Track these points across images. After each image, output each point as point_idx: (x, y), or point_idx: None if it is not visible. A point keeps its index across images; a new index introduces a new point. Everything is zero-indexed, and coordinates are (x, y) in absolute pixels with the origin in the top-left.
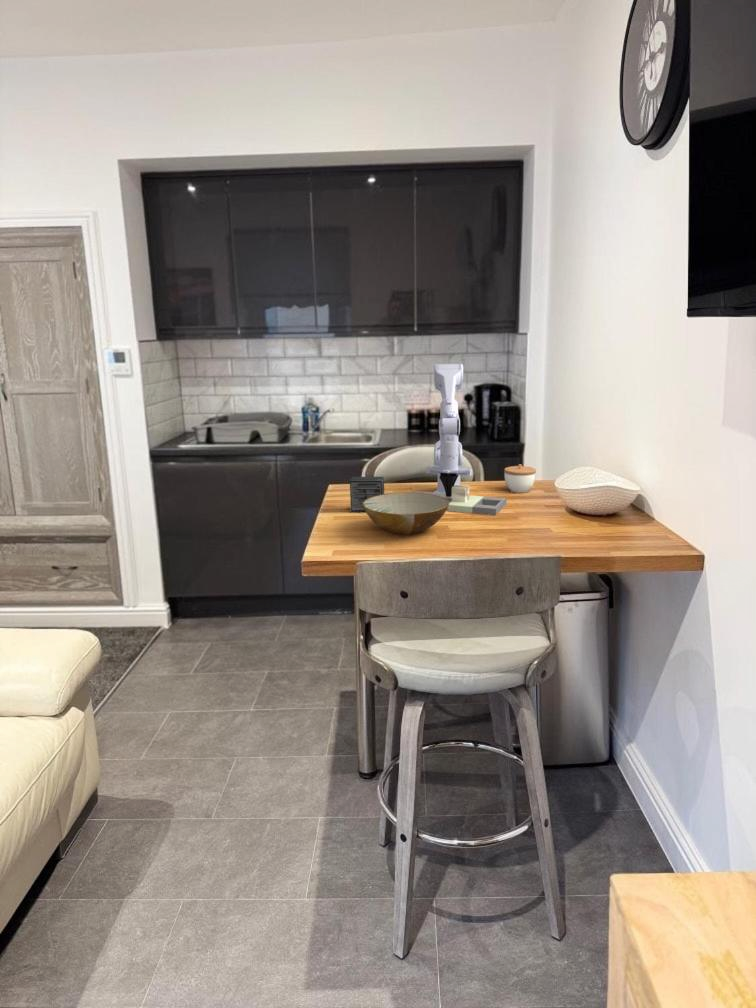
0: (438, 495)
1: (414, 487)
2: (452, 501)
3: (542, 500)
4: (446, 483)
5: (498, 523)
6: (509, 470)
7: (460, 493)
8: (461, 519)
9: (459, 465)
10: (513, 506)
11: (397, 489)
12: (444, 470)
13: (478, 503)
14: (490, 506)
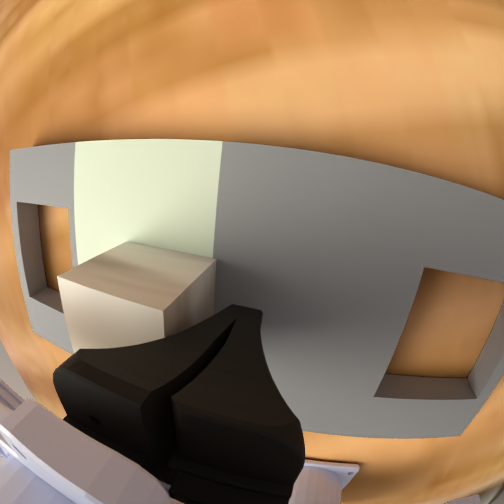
0: (336, 394)
1: (418, 492)
2: (208, 251)
3: (18, 356)
4: (212, 364)
5: (29, 49)
6: None
7: (117, 269)
8: (137, 13)
9: None
10: None
11: (478, 464)
12: (82, 501)
13: (72, 241)
14: (25, 183)
